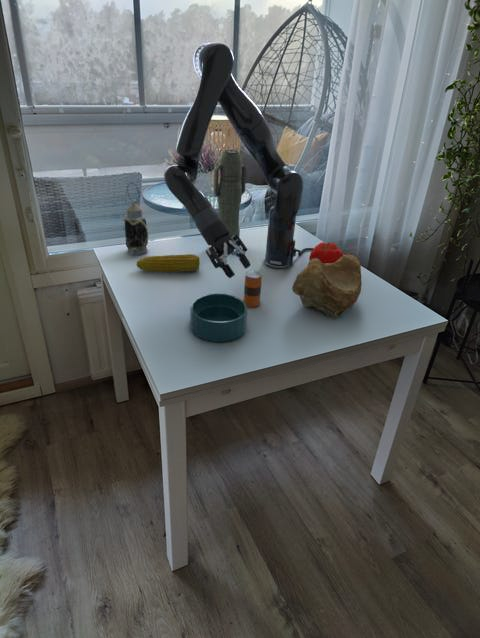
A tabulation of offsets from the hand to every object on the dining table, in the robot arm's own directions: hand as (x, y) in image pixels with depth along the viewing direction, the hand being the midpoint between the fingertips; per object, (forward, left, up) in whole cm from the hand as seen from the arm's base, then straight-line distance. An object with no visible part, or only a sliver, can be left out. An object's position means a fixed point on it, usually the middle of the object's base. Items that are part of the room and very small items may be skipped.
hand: (240, 271), depth 132 cm
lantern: (+27, -41, -9) cm, 50 cm away
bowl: (+10, +14, -9) cm, 20 cm away
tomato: (-36, -15, -9) cm, 40 cm away
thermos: (-7, -41, -9) cm, 42 cm away
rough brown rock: (-26, +10, -9) cm, 30 cm away
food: (+18, -23, -9) cm, 30 cm away
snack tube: (-3, +3, -9) cm, 10 cm away
